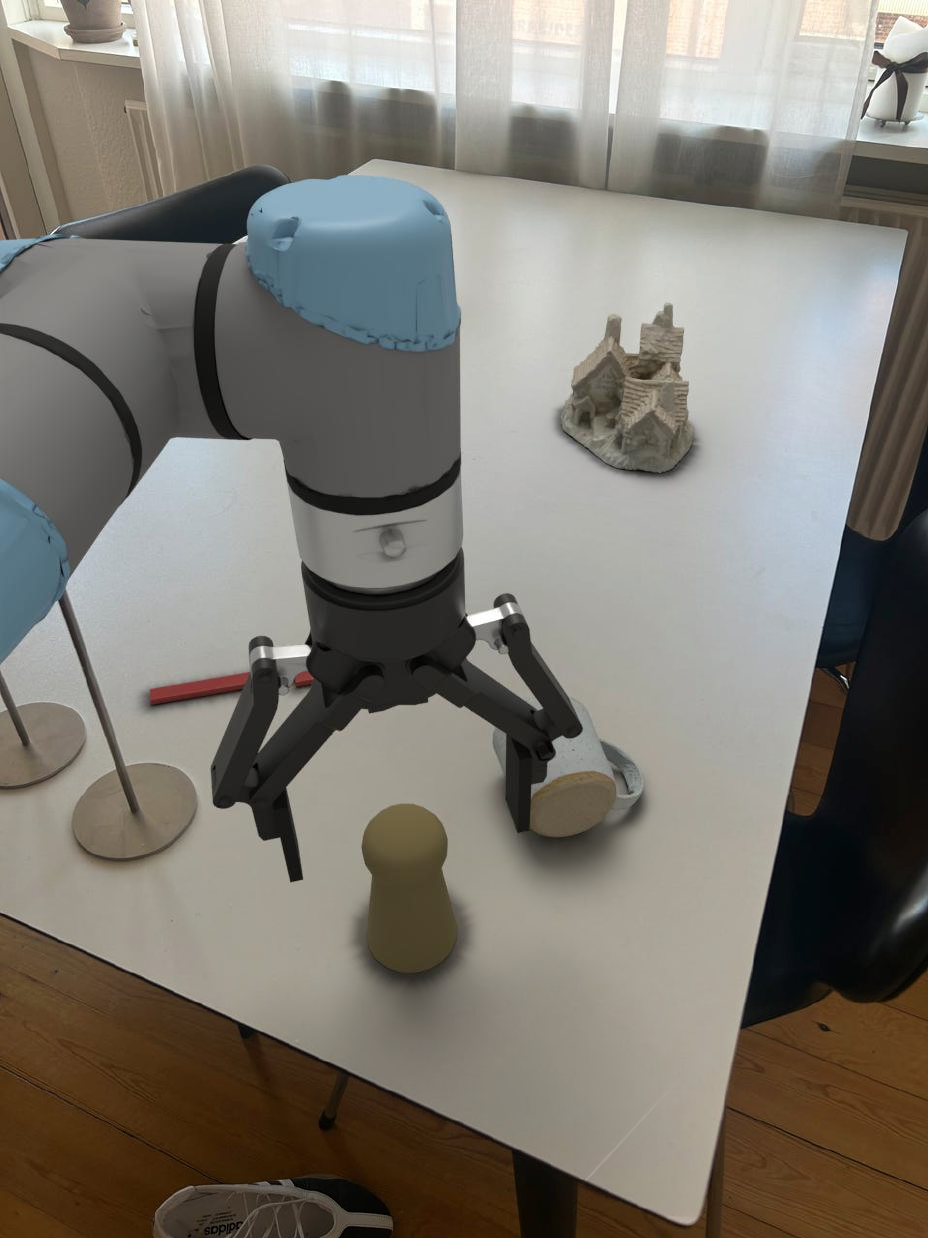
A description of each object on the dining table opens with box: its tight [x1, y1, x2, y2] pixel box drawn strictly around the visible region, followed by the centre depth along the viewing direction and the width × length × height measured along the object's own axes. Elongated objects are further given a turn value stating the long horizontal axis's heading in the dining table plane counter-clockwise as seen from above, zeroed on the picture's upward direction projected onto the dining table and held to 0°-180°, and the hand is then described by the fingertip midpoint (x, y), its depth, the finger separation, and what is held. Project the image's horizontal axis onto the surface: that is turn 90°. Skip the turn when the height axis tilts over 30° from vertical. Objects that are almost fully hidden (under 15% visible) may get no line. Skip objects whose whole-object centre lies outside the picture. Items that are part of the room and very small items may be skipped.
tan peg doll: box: [360, 803, 458, 974], centre depth 61 cm, size 6×6×11 cm
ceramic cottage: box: [559, 301, 694, 474], centre depth 110 cm, size 16×16×15 cm
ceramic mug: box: [492, 695, 645, 838], centre depth 70 cm, size 11×8×8 cm
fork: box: [149, 671, 314, 705], centre depth 83 cm, size 21×3×1 cm, turn 104°
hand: (408, 838), depth 58 cm, fingers open, 13 cm apart
